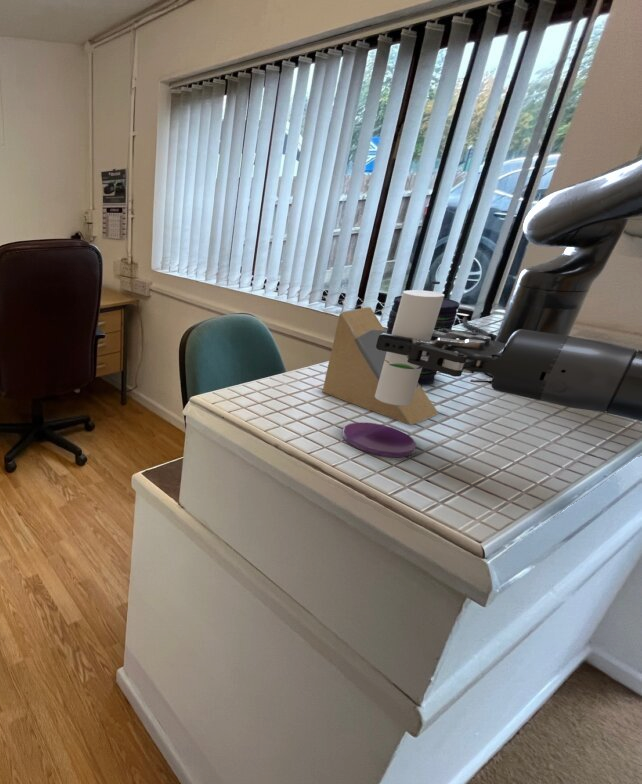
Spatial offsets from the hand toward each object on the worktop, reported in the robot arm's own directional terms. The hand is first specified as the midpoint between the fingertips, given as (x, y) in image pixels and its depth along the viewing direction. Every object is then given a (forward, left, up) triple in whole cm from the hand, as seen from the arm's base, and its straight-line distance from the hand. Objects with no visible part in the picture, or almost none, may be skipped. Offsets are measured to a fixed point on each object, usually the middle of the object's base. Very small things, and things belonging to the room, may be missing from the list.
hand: (386, 337), depth 64 cm
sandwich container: (-15, +2, -16) cm, 22 cm away
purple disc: (+1, +2, -15) cm, 16 cm away
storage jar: (-31, +6, -16) cm, 35 cm away
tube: (+1, +3, -9) cm, 9 cm away
